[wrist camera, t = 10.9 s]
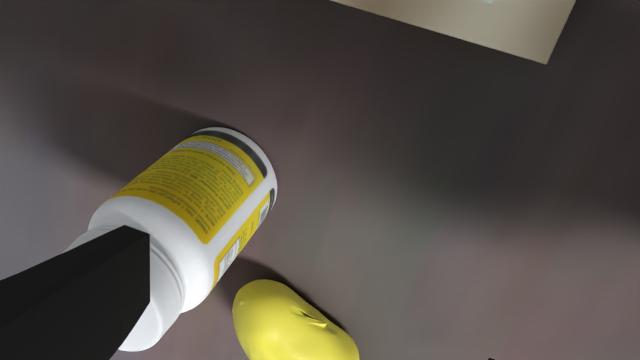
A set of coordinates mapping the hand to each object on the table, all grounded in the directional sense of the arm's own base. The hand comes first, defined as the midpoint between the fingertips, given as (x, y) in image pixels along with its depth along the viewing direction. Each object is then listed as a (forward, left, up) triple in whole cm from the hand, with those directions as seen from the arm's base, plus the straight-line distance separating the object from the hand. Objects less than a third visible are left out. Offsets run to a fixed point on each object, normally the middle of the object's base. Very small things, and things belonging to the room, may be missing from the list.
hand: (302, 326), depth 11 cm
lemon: (+2, +11, -11) cm, 16 cm away
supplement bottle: (+7, +4, -11) cm, 13 cm away
